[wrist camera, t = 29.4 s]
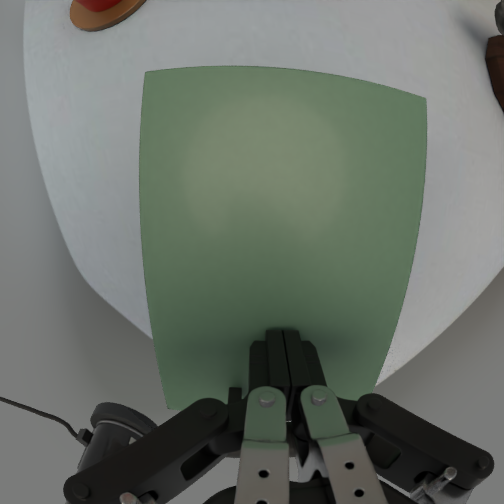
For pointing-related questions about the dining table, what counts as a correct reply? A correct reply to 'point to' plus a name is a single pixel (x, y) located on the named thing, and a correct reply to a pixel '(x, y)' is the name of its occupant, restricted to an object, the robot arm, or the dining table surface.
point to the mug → (497, 55)
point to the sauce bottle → (98, 4)
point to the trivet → (102, 15)
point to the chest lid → (275, 221)
